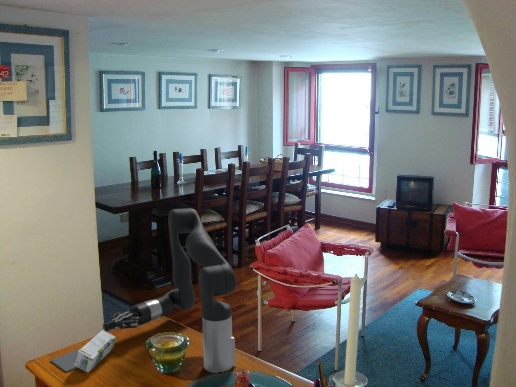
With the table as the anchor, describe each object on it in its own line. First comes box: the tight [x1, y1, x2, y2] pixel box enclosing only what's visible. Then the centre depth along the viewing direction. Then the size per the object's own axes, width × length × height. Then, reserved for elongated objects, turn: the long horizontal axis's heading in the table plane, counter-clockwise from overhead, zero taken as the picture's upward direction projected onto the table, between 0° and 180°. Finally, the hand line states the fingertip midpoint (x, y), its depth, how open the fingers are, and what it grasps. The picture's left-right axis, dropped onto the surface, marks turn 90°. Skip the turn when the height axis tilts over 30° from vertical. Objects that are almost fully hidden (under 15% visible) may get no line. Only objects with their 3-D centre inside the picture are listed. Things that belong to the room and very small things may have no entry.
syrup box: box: [74, 329, 117, 373], centre depth 173 cm, size 6×6×14 cm
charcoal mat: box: [50, 347, 82, 373], centre depth 175 cm, size 13×11×1 cm
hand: (104, 327), depth 182 cm, fingers closed
